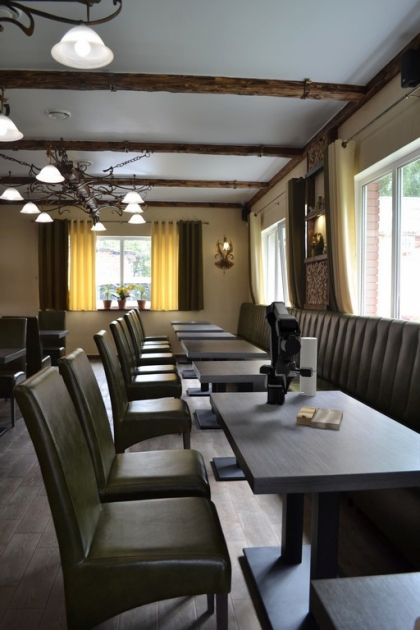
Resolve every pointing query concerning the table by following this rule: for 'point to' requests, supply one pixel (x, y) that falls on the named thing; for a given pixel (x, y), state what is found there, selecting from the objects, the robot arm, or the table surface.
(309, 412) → the plank
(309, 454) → the table surface
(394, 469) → the table surface
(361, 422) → the table surface
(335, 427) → the floor board
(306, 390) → the cylindrical container
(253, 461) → the table surface
